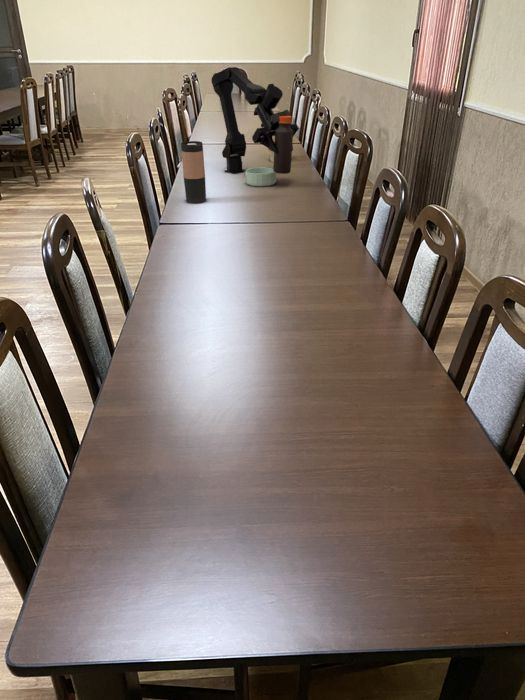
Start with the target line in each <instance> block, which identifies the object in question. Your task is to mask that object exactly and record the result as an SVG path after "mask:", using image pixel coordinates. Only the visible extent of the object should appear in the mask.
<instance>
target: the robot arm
mask: <svg viewBox="0 0 525 700" xmlns="http://www.w3.org/2000/svg"><path fill="white" fill-rule="evenodd" d="M211 84H212V88H213V91H214V92H215V94H216V95H217V96H218V98H219V101H220V106H221V111H222V115H223V120H224V124H225V131H226V136H225V140H224V143H225V144H224V145H225V146H224V148H223V150H222V151H221V155H222V158H223V159H224V158H225V160H226V169H224V172H225V173H229V174H237V173H242V172H245V169H243V159H242V157H245V156H246V152H247V151H246V150H247V141H246V136H245V134H244V133H241V132H240V130H239V126H238V121H237V117H236V111H235V107H234V102H233V97H232V93H233V90H234V85H235V86H236V87H237V88H238V89H239V90H240V91H241V92H242V93H243V95H244V99H245V100H246V102H247V103H248V104H249V105H250V106H253V105H255V106H256V107H254V111H253V116H257V117H258V118H259V120H260V122H261V124H260V127H257V128H256V130H255V131H254V132H253V134H252V136H251V140H252V141H253V144H260V145H262V146H263V147H265V148H267V149H268V148H269V149H270V150H272V151H273V152H274V153H276V154H278V149H277V147H276V145H275V143H274V141H273V138H272V136H275V130H276V129H277V128H278V127H279V124H278V123H279V121H280V119H279V116H291V117H292V115H291V112H290V111H289V109H284V110H283V111H278V112H274V110H273V109H275V108H276V107H277V106H278V105H279V102H280V101H281V99H282V98H283V95H284V93H283V90H282V89H280V88H279V87H278V86H276V85H275V84H274V83H268V85H267V87H266V88H265V87H264V86H262V85H259V84H257V83H253V82H252V81H251V80H250V78H248V77H247V76H246V75H244V73H242V72H241V71H240V69H239V67H237V66H231V67H230V66H229V67H226V68H224V69H223V70H221V71H219V72H215V73H213V74H212V77H211ZM290 127H291V129H292V130H293V137H294V136H295V135H296V134H297V132H298V131H299V129H300V128H299V126H298V124H297V123H295V122H294V123H293V122H292V123H291V125H290ZM293 151H294V145H293V143H292V152H293Z"/></svg>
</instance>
